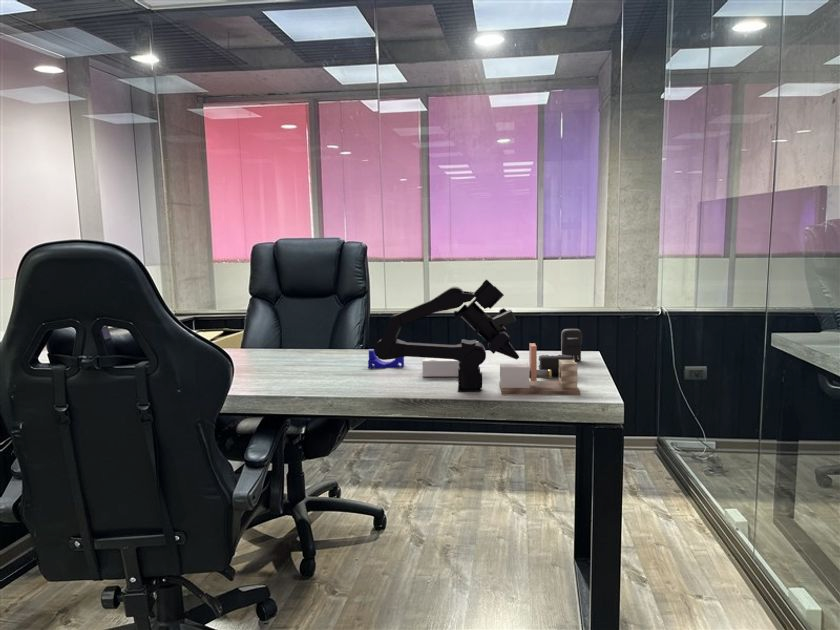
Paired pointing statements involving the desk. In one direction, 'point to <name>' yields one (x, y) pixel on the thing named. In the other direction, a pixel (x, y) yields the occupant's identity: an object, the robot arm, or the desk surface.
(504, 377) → the white rectangular block
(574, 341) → the battery charger
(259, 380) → the desk surface
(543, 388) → the base board
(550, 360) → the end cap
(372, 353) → the cable clip
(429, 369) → the white box
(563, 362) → the socket block
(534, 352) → the brushed copper slab
